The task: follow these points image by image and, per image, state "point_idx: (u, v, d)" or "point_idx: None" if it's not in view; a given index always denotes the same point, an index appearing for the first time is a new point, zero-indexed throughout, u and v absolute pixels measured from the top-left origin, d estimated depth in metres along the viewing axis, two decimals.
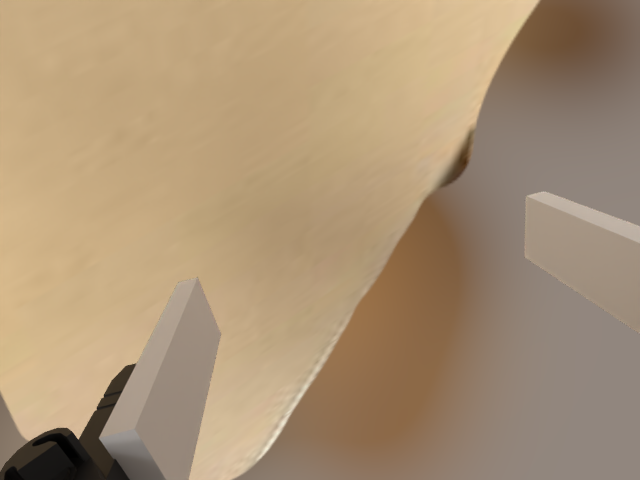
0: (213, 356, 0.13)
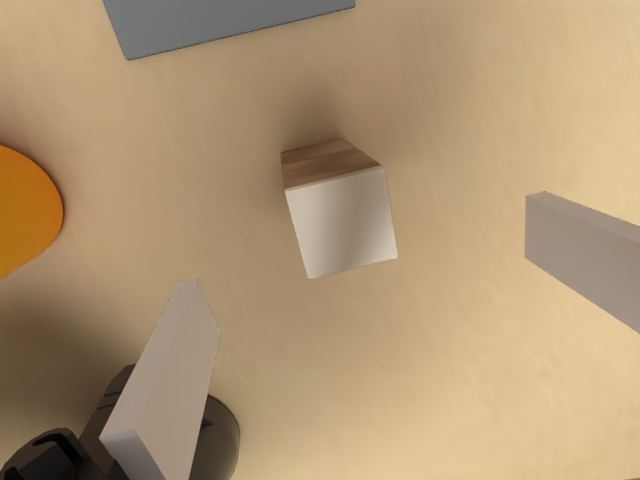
0: (213, 356, 0.13)
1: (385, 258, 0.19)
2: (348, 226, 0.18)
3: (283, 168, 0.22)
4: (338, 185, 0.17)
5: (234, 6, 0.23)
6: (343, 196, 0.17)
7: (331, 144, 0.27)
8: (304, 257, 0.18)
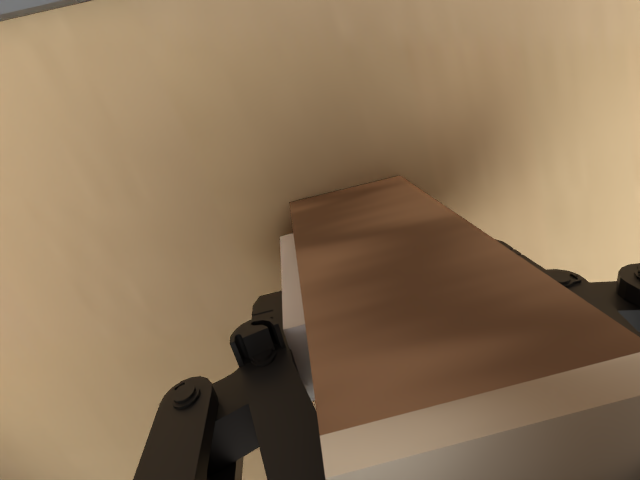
0: None
1: None
2: None
3: (300, 267, 0.10)
4: (524, 442, 0.05)
5: None
6: (532, 468, 0.05)
7: (387, 192, 0.14)
8: None
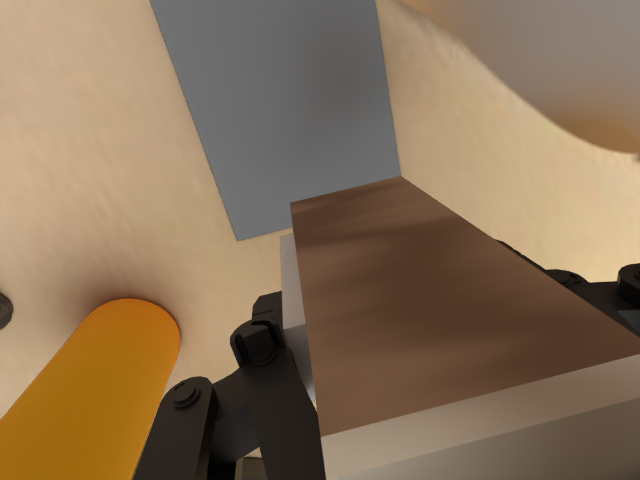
0: None
1: None
2: None
3: (301, 268, 0.10)
4: (526, 444, 0.05)
5: None
6: (533, 470, 0.05)
7: (387, 192, 0.14)
8: None
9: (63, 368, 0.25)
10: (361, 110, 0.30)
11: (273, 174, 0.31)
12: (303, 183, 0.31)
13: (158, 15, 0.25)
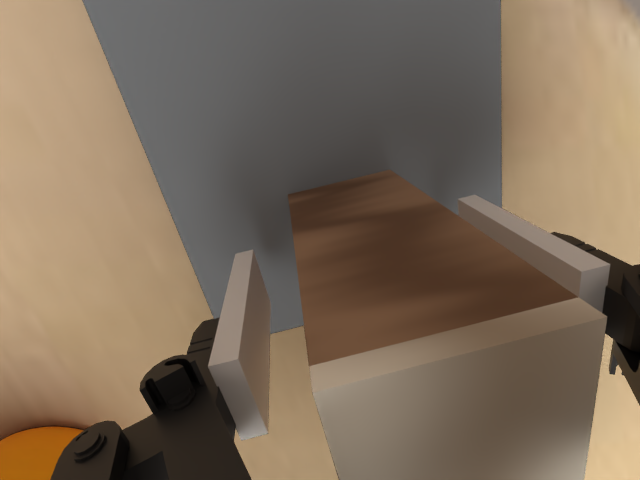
0: (269, 320, 0.14)
1: None
2: (478, 452, 0.07)
3: (296, 247, 0.11)
4: (469, 367, 0.06)
5: None
6: (477, 391, 0.06)
7: (377, 184, 0.15)
8: None
9: None
10: (450, 135, 0.17)
11: (289, 241, 0.18)
12: None
13: None
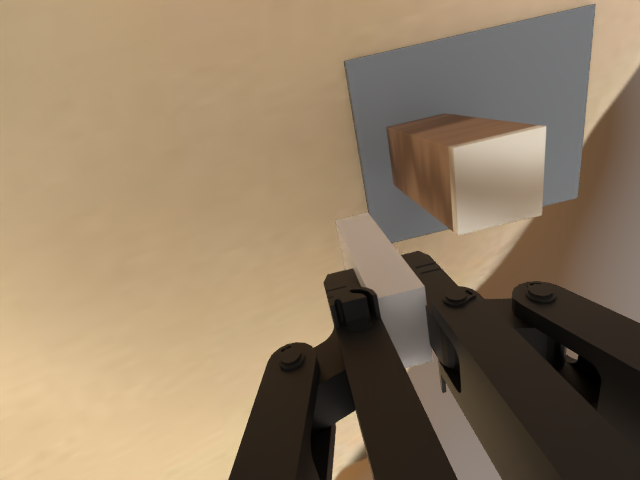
0: None
1: (459, 224, 0.20)
2: (499, 187, 0.19)
3: (485, 119, 0.24)
4: (538, 176, 0.19)
5: (379, 159, 0.30)
6: (527, 181, 0.19)
7: None
8: (479, 144, 0.18)
9: None
10: None
11: (416, 113, 0.29)
12: None
13: (573, 12, 0.27)
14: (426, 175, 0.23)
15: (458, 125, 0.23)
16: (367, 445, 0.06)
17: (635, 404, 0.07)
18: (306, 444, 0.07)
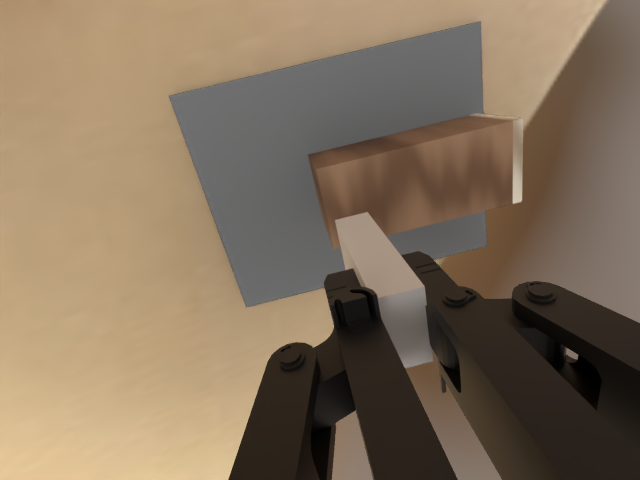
0: None
1: (520, 190, 0.22)
2: None
3: (396, 134, 0.24)
4: None
5: (233, 210, 0.25)
6: None
7: None
8: (508, 119, 0.21)
9: None
10: None
11: (271, 155, 0.24)
12: (260, 193, 0.25)
13: (453, 31, 0.22)
14: (456, 176, 0.21)
15: (409, 135, 0.22)
16: (367, 445, 0.06)
17: (635, 404, 0.07)
18: (306, 444, 0.07)
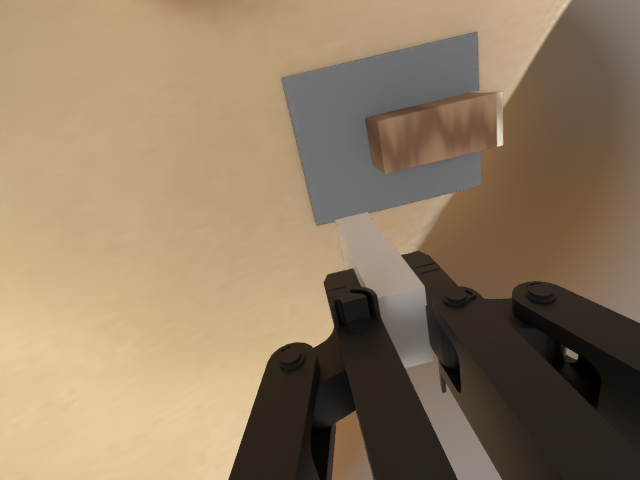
0: None
1: (502, 138, 0.35)
2: None
3: (422, 104, 0.37)
4: None
5: (314, 155, 0.38)
6: None
7: None
8: (494, 92, 0.34)
9: None
10: (383, 188, 0.40)
11: (341, 117, 0.37)
12: (332, 143, 0.38)
13: (460, 38, 0.35)
14: (461, 127, 0.34)
15: (431, 103, 0.35)
16: (367, 445, 0.06)
17: (635, 404, 0.07)
18: (306, 444, 0.07)
